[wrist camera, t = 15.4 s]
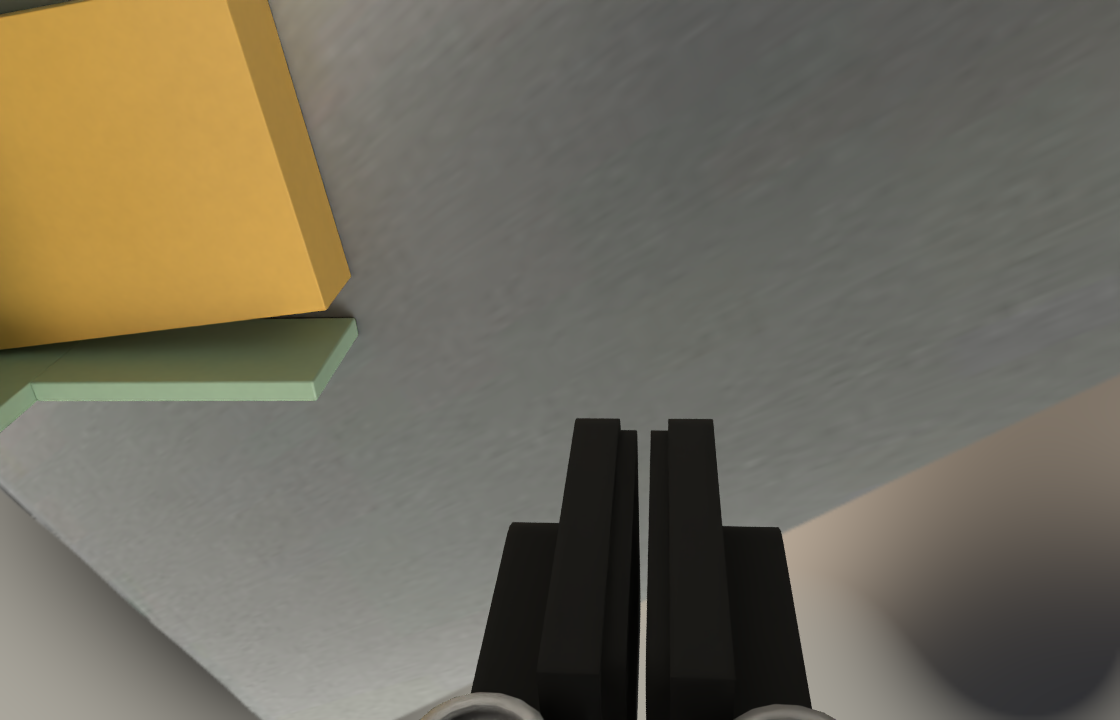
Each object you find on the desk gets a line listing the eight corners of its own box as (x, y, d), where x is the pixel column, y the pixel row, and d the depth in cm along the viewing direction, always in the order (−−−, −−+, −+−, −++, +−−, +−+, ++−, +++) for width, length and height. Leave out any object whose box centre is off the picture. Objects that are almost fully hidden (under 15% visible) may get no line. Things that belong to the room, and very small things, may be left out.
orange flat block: (257, -35, 29) (218, -25, 27) (351, 276, 34) (326, 310, 32) (-140, 40, 32) (-212, 57, 29) (3, 320, 37) (-47, 356, 34)
